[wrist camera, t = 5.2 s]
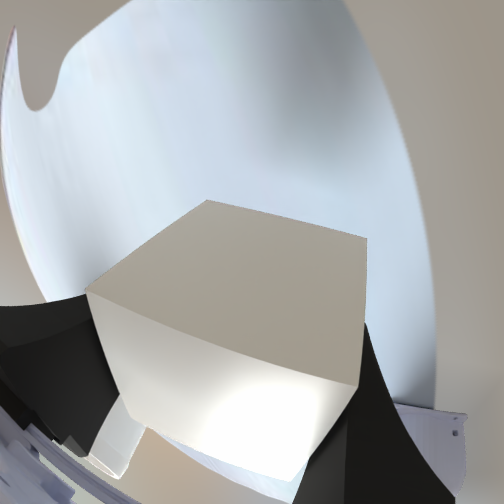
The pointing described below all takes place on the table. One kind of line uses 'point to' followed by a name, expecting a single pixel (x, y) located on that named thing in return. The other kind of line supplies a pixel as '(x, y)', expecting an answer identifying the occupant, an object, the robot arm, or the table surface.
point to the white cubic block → (237, 333)
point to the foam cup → (116, 441)
